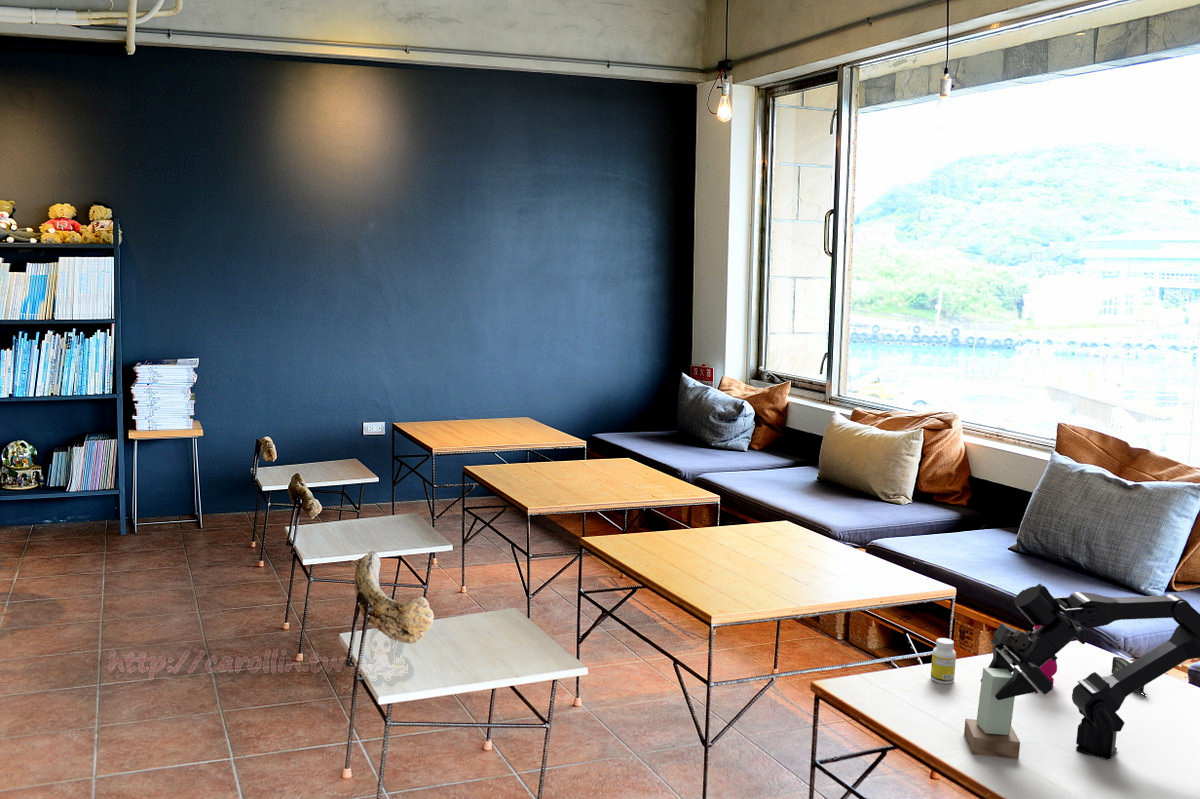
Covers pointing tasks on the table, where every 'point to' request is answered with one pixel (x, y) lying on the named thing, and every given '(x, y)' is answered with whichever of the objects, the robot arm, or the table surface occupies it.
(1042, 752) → the table surface
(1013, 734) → the walnut block
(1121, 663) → the mobile phone
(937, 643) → the supplement bottle
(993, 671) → the tall block
